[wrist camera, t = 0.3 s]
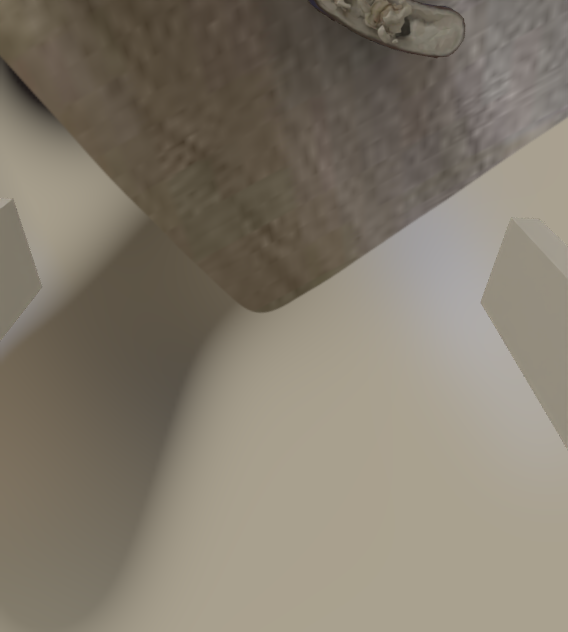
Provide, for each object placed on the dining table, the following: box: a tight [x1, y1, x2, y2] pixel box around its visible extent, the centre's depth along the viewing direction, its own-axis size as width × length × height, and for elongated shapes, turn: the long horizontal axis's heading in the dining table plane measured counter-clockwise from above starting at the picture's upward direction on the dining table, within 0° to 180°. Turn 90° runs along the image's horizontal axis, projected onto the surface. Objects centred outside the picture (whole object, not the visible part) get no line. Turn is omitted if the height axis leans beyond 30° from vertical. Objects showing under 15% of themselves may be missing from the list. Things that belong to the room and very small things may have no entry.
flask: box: [308, 0, 465, 58], centre depth 28 cm, size 9×3×11 cm, turn 71°
